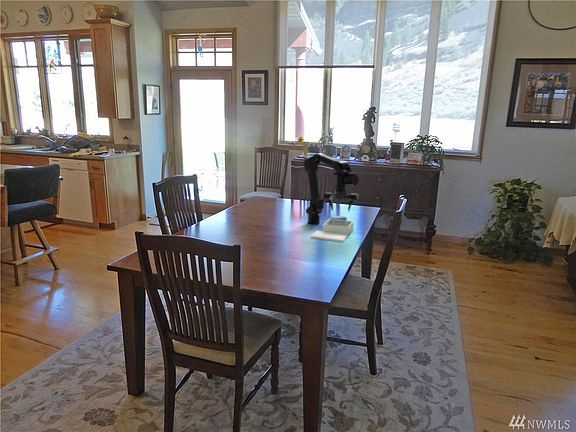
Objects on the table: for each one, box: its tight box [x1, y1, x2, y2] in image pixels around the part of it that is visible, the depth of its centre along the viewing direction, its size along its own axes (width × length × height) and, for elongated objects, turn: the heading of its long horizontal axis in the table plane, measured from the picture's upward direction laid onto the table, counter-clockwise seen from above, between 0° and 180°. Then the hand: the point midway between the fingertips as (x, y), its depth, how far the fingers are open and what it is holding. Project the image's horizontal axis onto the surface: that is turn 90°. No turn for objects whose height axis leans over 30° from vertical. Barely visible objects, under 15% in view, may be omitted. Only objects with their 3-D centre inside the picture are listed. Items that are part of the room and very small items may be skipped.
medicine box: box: [330, 215, 348, 227], centre depth 234 cm, size 8×4×9 cm, turn 105°
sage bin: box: [322, 218, 355, 237], centre depth 234 cm, size 15×14×5 cm
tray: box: [310, 230, 349, 243], centre depth 224 cm, size 18×11×1 cm, turn 70°
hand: (340, 211), depth 232 cm, fingers open, 9 cm apart
